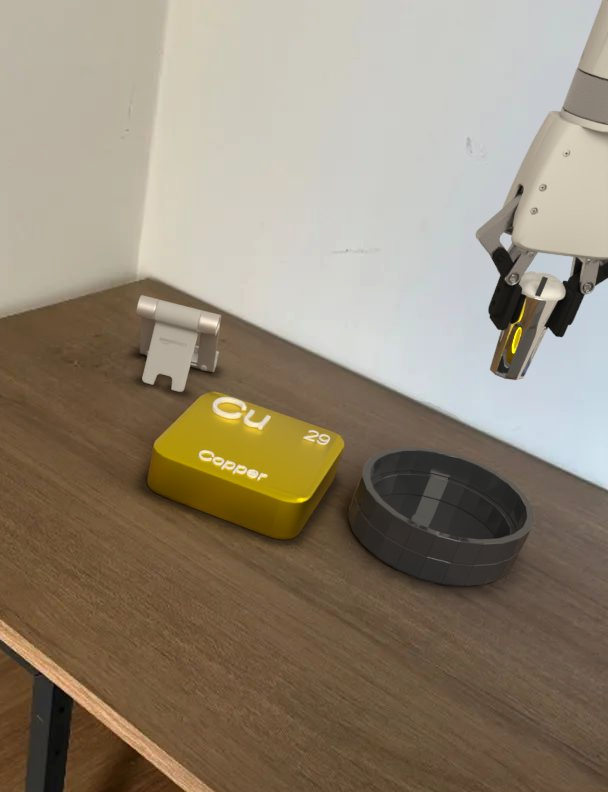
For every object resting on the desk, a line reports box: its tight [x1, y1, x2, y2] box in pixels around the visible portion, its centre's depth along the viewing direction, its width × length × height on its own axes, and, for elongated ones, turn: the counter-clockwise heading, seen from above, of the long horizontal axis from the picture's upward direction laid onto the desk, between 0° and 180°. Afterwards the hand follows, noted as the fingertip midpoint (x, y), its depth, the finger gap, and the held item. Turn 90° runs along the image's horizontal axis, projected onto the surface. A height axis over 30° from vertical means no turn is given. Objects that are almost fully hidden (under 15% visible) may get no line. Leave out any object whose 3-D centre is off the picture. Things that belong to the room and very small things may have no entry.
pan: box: [347, 446, 536, 587], centre depth 87 cm, size 15×15×5 cm
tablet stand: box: [135, 294, 222, 393], centre depth 104 cm, size 9×8×8 cm
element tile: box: [146, 391, 345, 541], centre depth 90 cm, size 15×15×5 cm
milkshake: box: [489, 271, 566, 381], centre depth 87 cm, size 4×5×10 cm
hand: (526, 325), depth 87 cm, fingers closed on milkshake, 4 cm apart
